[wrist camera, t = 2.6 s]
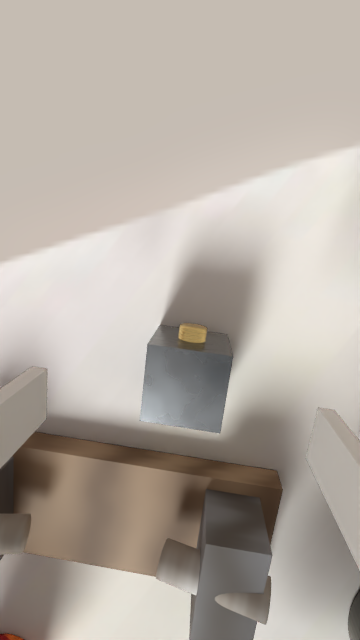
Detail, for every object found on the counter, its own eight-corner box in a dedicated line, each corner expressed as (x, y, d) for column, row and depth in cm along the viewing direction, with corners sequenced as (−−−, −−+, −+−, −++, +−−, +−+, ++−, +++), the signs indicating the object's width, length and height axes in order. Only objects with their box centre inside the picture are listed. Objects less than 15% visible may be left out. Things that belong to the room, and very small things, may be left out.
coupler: (161, 314, 23) (148, 331, 18) (229, 323, 22) (235, 342, 18) (152, 396, 24) (138, 432, 19) (215, 405, 24) (218, 444, 19)
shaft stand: (276, 470, 25) (304, 557, 18) (255, 570, 27) (272, 683, 20) (-35, 420, 26) (-124, 482, 19) (-31, 519, 28) (-110, 607, 21)
